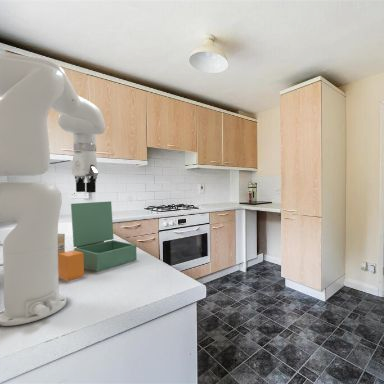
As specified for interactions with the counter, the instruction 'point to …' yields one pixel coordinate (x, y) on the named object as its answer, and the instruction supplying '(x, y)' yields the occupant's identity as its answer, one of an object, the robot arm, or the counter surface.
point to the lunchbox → (107, 254)
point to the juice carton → (71, 265)
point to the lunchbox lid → (91, 222)
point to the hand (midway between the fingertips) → (85, 191)
